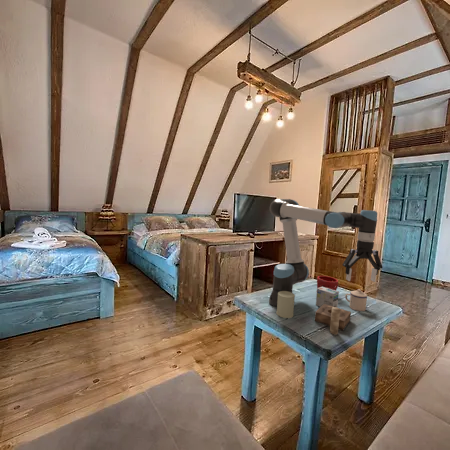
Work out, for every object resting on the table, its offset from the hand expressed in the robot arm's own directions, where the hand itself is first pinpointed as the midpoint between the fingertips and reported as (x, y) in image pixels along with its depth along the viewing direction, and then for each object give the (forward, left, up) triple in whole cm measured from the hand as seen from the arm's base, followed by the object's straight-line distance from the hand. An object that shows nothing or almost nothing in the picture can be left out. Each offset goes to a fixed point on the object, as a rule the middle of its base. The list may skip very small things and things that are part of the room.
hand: (360, 280), depth 127 cm
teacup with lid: (-5, +20, -23) cm, 31 cm away
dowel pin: (-6, -20, -23) cm, 31 cm away
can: (-32, -19, -23) cm, 44 cm away
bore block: (-10, -8, -23) cm, 26 cm away
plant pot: (-24, +27, -23) cm, 43 cm away
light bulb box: (-18, +8, -23) cm, 30 cm away
